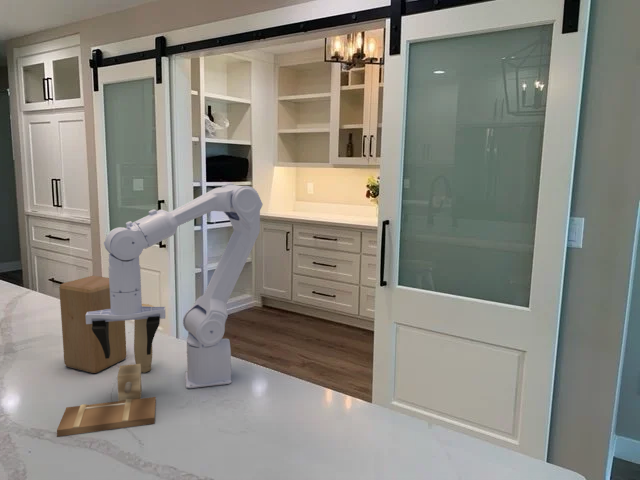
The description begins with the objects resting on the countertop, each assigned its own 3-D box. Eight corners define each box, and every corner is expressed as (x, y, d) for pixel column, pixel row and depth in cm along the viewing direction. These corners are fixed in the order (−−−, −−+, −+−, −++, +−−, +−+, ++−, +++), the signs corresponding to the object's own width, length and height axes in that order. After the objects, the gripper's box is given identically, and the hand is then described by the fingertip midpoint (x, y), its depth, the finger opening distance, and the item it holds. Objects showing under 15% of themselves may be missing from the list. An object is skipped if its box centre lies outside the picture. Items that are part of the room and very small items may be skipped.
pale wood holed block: (141, 390, 99) (140, 363, 98) (139, 408, 92) (138, 379, 91) (121, 393, 98) (119, 365, 97) (117, 411, 91) (116, 381, 90)
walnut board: (155, 402, 94) (155, 395, 94) (154, 423, 87) (154, 416, 87) (66, 413, 90) (66, 406, 89) (57, 436, 82) (56, 429, 82)
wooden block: (62, 367, 109) (56, 283, 106) (97, 351, 118) (93, 274, 115) (95, 375, 105) (90, 288, 102) (128, 358, 115) (124, 278, 111)
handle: (142, 378, 105) (140, 313, 102) (126, 369, 108) (123, 307, 106) (161, 370, 108) (159, 308, 106) (145, 363, 112) (143, 302, 110)
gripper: (164, 281, 98) (166, 343, 101) (88, 285, 94) (92, 350, 96) (164, 290, 92) (166, 356, 94) (82, 295, 87) (86, 364, 90)
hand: (128, 354), depth 95 cm, fingers open, 7 cm apart
